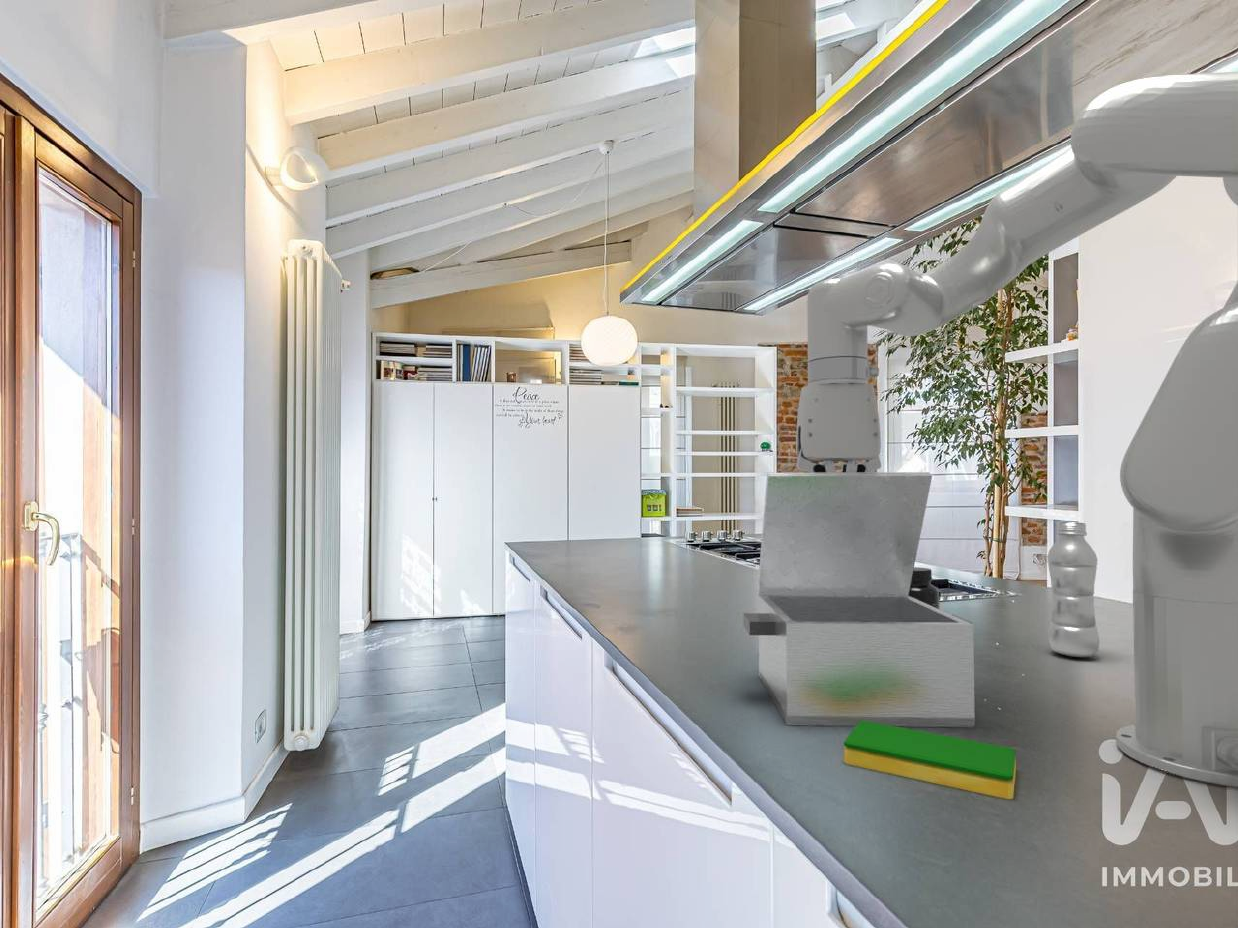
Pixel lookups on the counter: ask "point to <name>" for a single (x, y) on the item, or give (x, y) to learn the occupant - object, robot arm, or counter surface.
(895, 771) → the dish sponge
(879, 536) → the lid
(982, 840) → the counter surface
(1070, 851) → the counter surface
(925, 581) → the supplement bottle
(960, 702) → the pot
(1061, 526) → the plastic bottle
